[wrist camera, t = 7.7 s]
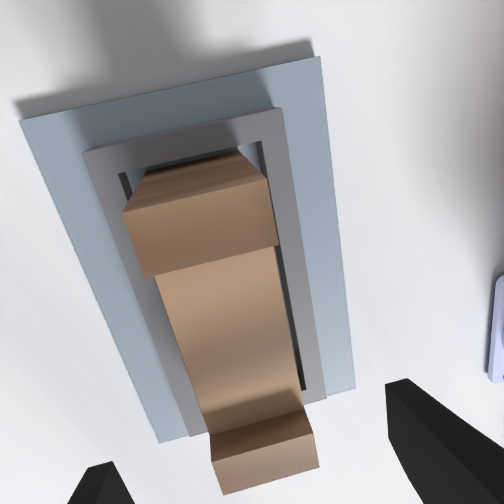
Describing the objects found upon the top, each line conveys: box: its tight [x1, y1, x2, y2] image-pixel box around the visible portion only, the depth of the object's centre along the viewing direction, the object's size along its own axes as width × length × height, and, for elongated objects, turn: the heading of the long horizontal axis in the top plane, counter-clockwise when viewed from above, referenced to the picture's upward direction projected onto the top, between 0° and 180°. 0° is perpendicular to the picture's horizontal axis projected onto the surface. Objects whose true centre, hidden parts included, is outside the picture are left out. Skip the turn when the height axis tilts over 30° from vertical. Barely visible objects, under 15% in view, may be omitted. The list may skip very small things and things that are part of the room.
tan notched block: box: [122, 150, 319, 495], centre depth 15 cm, size 12×4×6 cm, turn 11°
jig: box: [19, 56, 356, 444], centre depth 18 cm, size 12×18×2 cm, turn 11°
